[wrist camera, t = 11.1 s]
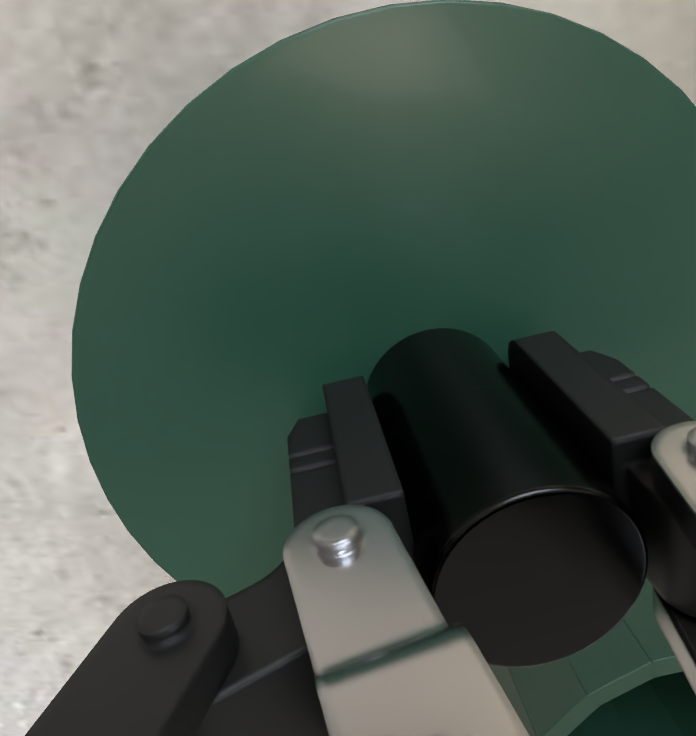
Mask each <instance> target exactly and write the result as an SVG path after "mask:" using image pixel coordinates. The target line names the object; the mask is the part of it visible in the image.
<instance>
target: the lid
mask: <svg viewBox="0 0 696 736" xmlns="http://www.w3.org/2000/svg"><path fill="white" fill-rule="evenodd" d="M549 331H555V332H556V333H558V334H559V335H560V336H561V337H562V338H563V339H565V340H566V341H567V342H568V343H569V344H570V345H572V346H573V347H574V348H575V349H576V350H577V351H579V352H585V351H589V350H591V351H594V352H597V353H600V354H603V355H606V356H609V357H612V358H615V359H618V360H619V361H620V362H621V363H623V364H624V365H625V366H626V367H628V368H629V369H630V370H631V371H633V372H634V373H635V376H639V377H640V378H642V379H643V380H644V381H645V382H647V383H648V384H649V386H650V388H654V389H656V390H657V391H658V392H659V393H661V394H662V395H663V396H664V397H666V398H667V399H668V400H669V401H671V402H672V403H673V404H675V405H676V406H677V407H678V408H680V409H681V410H682V411H683V412H685V413H686V414H687V415H688V416H690V417H691V418H692V419H694V420H695V421H696V106H695V105H694V104H693V103H692V102H691V101H690V99H689V98H688V97H687V96H686V95H685V94H684V92H683V91H682V90H681V89H680V88H679V87H678V86H676V85H675V84H674V83H673V82H672V81H671V80H669V79H668V78H667V77H666V76H665V75H663V74H662V73H661V72H660V71H659V70H657V69H656V68H655V67H654V66H653V65H652V64H650V63H649V62H648V61H647V60H646V59H644V58H643V57H641V56H639V55H638V54H636V53H634V52H633V51H631V50H629V49H628V48H626V47H624V46H623V45H621V44H619V43H618V42H616V41H614V40H613V39H611V38H609V37H608V36H606V35H604V34H603V33H601V32H598V31H595V30H593V29H590V28H588V27H585V26H583V25H580V24H578V23H575V22H573V21H570V20H568V19H565V18H562V17H560V16H557V15H555V14H551V13H547V12H542V11H538V10H533V9H529V8H524V7H519V6H515V5H510V4H506V3H501V2H484V1H468V0H432V1H421V2H411V3H400V4H390V5H386V6H381V7H377V8H373V9H369V10H365V11H361V12H357V13H353V14H349V15H345V16H341V17H337V18H333V19H331V20H328V21H326V22H324V23H321V24H319V25H316V26H314V27H311V28H309V29H306V30H304V31H302V32H299V33H297V34H294V35H292V36H289V37H287V38H284V39H282V40H280V41H278V42H276V43H275V44H273V45H271V46H270V47H268V48H266V49H265V50H263V51H261V52H260V53H258V54H256V55H254V56H253V57H251V58H249V59H248V60H246V61H244V62H243V63H241V64H239V65H237V66H236V67H234V68H232V69H231V70H230V71H228V72H227V73H226V74H225V75H223V76H222V77H221V78H220V79H218V80H217V81H216V82H215V83H213V84H212V85H211V86H210V87H208V88H207V89H206V90H205V91H203V92H202V93H201V94H200V95H198V96H197V97H196V98H195V99H193V100H192V101H191V102H190V103H188V104H187V105H186V106H185V107H184V108H183V109H182V110H181V112H180V113H179V114H178V115H177V116H176V117H175V118H174V119H173V120H172V121H171V122H170V123H169V124H168V126H167V127H166V128H165V129H164V130H163V131H162V132H161V133H160V134H159V135H158V136H157V137H156V138H155V140H154V141H153V142H152V143H151V144H150V145H149V146H148V148H147V149H146V150H145V152H144V153H143V155H142V156H141V158H140V159H139V161H138V162H137V163H136V165H135V166H134V168H133V169H132V171H131V172H130V174H129V175H128V176H127V178H126V179H125V181H124V182H123V184H122V185H121V187H120V188H119V189H118V191H117V193H116V195H115V197H114V199H113V201H112V203H111V205H110V207H109V210H108V212H107V214H106V216H105V218H104V220H103V222H102V224H101V226H100V228H99V230H98V232H97V234H96V236H95V239H94V242H93V245H92V248H91V251H90V254H89V257H88V260H87V263H86V267H85V270H84V273H83V276H82V279H81V282H80V287H79V293H78V299H77V305H76V311H75V317H74V323H73V329H72V383H73V390H74V397H75V404H76V411H77V419H78V423H79V426H80V430H81V433H82V436H83V440H84V443H85V447H86V450H87V453H88V457H89V460H90V463H91V465H92V467H93V469H94V471H95V473H96V476H97V478H98V480H99V482H100V484H101V486H102V489H103V491H104V493H105V495H106V497H107V499H108V501H109V502H110V504H111V505H112V507H113V508H114V510H115V511H116V513H117V515H118V516H119V518H120V519H121V521H122V522H123V524H124V525H125V527H126V528H127V530H128V531H129V533H130V534H131V535H132V536H133V537H134V539H135V540H136V541H137V542H138V543H139V544H140V545H141V547H142V548H143V549H144V550H145V551H146V552H147V553H148V555H149V556H150V557H151V558H152V559H153V560H154V561H155V562H156V563H157V564H158V565H159V566H160V567H161V568H162V569H164V570H165V571H166V572H167V573H168V574H169V575H170V576H172V577H173V578H174V579H175V580H176V581H184V580H199V581H204V582H207V583H210V584H212V585H214V586H215V587H217V588H218V589H219V590H220V591H221V592H222V593H223V595H224V597H225V598H227V597H229V596H231V595H233V594H235V593H237V592H239V591H241V590H243V589H245V588H247V587H249V586H251V585H253V584H254V583H256V582H258V581H260V580H261V579H263V578H264V577H266V576H267V575H268V574H270V573H271V572H272V571H273V570H275V569H276V568H277V567H278V566H279V565H280V564H281V563H282V561H283V560H284V559H283V546H284V544H285V541H286V539H287V537H288V535H289V534H290V533H291V531H292V530H293V529H294V518H293V506H292V493H291V480H290V467H289V455H288V442H287V437H288V436H289V434H290V432H291V431H292V429H293V427H294V425H295V424H296V422H297V420H298V419H302V418H306V417H311V416H315V415H319V414H323V413H327V407H326V402H325V397H324V393H323V388H322V385H324V384H328V383H332V382H337V381H341V380H345V379H349V378H353V377H358V376H362V375H363V377H364V380H365V383H366V386H367V388H368V391H369V394H370V397H371V400H372V403H373V406H374V408H375V411H376V414H377V417H378V420H379V423H380V426H381V429H382V431H383V434H384V437H385V440H386V443H387V446H388V449H389V451H390V454H391V457H392V460H393V463H394V466H395V469H396V472H397V474H398V477H399V480H400V483H401V486H402V489H403V492H404V497H405V502H406V507H407V512H408V517H409V522H410V527H411V531H412V536H413V541H414V563H415V567H416V568H417V570H418V572H419V574H420V576H421V577H422V579H423V581H424V583H425V585H426V587H427V588H428V590H429V592H430V594H431V596H432V597H433V599H434V601H435V603H436V605H437V607H438V608H439V610H440V612H441V614H442V616H443V617H444V619H445V621H446V623H447V624H448V626H451V625H454V624H456V623H460V624H462V625H463V626H464V627H465V628H466V629H467V631H468V632H469V633H470V635H471V636H472V638H473V640H474V641H475V643H476V645H477V646H478V648H479V650H480V651H481V653H482V655H483V657H484V658H485V660H486V662H487V663H488V665H492V666H499V667H511V668H520V667H532V666H538V665H544V664H548V663H551V662H555V661H558V660H561V659H564V658H567V657H569V656H572V655H574V654H576V653H578V652H580V651H582V650H584V649H586V648H587V647H589V646H591V645H593V644H594V643H596V642H597V641H598V640H600V639H601V638H603V637H604V636H605V635H607V634H608V633H609V632H610V631H611V630H612V629H613V628H615V627H616V626H617V625H618V624H619V623H620V621H621V620H622V619H623V618H624V617H625V616H626V615H627V613H628V612H629V611H630V609H631V608H632V607H633V605H634V603H635V602H636V600H637V598H638V596H639V594H640V592H641V590H642V587H643V585H644V582H645V578H646V575H647V569H648V547H647V542H646V538H645V534H644V532H643V529H642V527H641V525H640V523H639V521H638V520H637V518H636V517H635V515H634V514H633V513H632V512H631V511H630V509H629V508H628V507H627V506H626V505H625V503H624V502H623V501H622V500H621V499H620V498H619V496H618V495H617V494H616V493H615V492H614V491H613V489H612V488H611V487H610V486H609V485H608V484H607V482H606V481H605V480H604V479H603V478H602V477H601V475H600V474H599V473H598V472H597V471H596V470H595V468H594V467H593V466H592V465H591V464H590V463H589V461H588V460H587V459H586V458H585V457H584V456H583V454H582V453H581V452H580V451H579V450H578V449H577V447H576V446H575V445H574V444H573V443H572V442H571V440H570V439H569V438H568V437H567V436H566V434H565V433H564V432H563V431H562V430H561V429H560V427H559V426H558V425H557V424H556V423H555V422H554V420H553V419H552V418H551V417H550V416H549V415H548V413H547V412H546V411H545V410H544V409H543V408H542V406H541V405H540V404H539V403H538V402H537V401H536V399H535V398H534V397H533V396H532V395H531V394H530V392H529V391H528V390H527V389H526V388H525V387H524V385H523V384H522V383H521V382H520V381H519V380H518V378H517V377H516V376H515V375H514V374H513V372H512V371H511V370H510V368H509V359H508V345H509V342H510V341H511V340H515V339H519V338H523V337H528V336H532V335H536V334H540V333H544V332H549Z"/></svg>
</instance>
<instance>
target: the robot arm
mask: <svg viewBox="0 0 696 736" xmlns="http://www.w3.org/2000/svg"><path fill="white" fill-rule="evenodd" d="M508 359H509V368H510V370H511V371H512V372H513V374H514V375H515V376H516V377H517V378H518V380H519V381H520V382H521V383H522V384H523V385H524V387H525V388H526V389H527V390H528V391H529V392H530V394H531V395H532V396H533V397H534V398H535V399H536V401H537V402H538V403H539V404H540V405H541V406H542V408H543V409H544V410H545V411H546V412H547V413H548V415H549V416H550V417H551V418H552V419H553V420H554V422H555V423H556V424H557V425H558V426H559V427H560V429H561V430H562V431H563V432H564V433H565V434H566V436H567V437H568V438H569V439H570V440H571V442H572V443H573V444H574V445H575V446H576V447H577V449H578V450H579V451H580V452H581V453H582V454H583V456H584V457H585V458H586V459H587V460H588V461H589V463H590V464H591V465H592V466H593V467H594V468H595V470H596V471H597V472H598V473H599V474H600V475H601V477H602V478H603V479H604V480H605V481H606V482H607V484H608V485H609V486H610V487H611V488H612V489H613V491H614V492H615V493H616V494H617V495H618V496H619V498H620V499H621V500H622V501H623V502H624V503H625V505H626V506H627V507H628V508H629V509H630V511H631V512H632V513H633V514H634V515H635V517H636V518H637V520H638V521H639V523H640V525H641V527H642V529H643V532H644V534H645V538H646V542H647V547H648V569H647V575H646V578H647V579H648V580H649V582H650V583H651V584H652V597H653V613H654V616H655V618H656V620H657V622H658V624H659V626H660V628H661V630H662V632H663V634H664V636H665V638H666V639H667V641H668V643H669V645H670V647H671V649H672V651H673V653H674V655H675V657H676V658H677V660H678V662H679V664H680V666H681V668H682V670H683V672H684V674H685V676H686V677H687V679H688V681H689V683H690V685H691V687H692V689H693V691H694V693H695V695H696V421H695V420H694V419H692V418H691V417H690V416H688V415H687V414H686V413H685V412H683V411H682V410H681V409H680V408H678V407H677V406H676V405H675V404H673V403H672V402H671V401H669V400H668V399H667V398H666V397H664V396H663V395H662V394H661V393H659V392H658V391H657V390H656V389H654V388H650V386H649V384H648V383H647V382H645V381H644V380H643V379H642V378H640V377H639V376H635V373H634V372H633V371H631V370H630V369H629V368H628V367H626V366H625V365H624V364H623V363H621V362H620V361H619V360H618V359H615V358H612V357H609V356H606V355H603V354H600V353H597V352H594V351H591V350H589V351H585V352H579V351H577V350H576V349H575V348H574V347H573V346H572V345H570V344H569V343H568V342H567V341H566V340H565V339H563V338H562V337H561V336H560V335H559V334H558V333H556V332H555V331H549V332H544V333H540V334H536V335H532V336H528V337H523V338H519V339H515V340H511V341H510V342H509V345H508ZM322 388H323V393H324V397H325V402H326V407H327V413H323V414H319V415H315V416H311V417H306V418H302V419H298V420H297V422H296V424H295V425H294V427H293V429H292V431H291V432H290V434H289V436H288V437H287V442H288V455H289V467H290V480H291V493H292V506H293V518H294V529H293V530H292V531H291V533H290V534H289V535H288V537H287V539H286V541H285V544H284V546H283V559H284V560H283V561H282V563H281V564H280V565H279V566H278V567H277V568H276V569H275V570H273V571H272V572H271V573H270V574H268V575H267V576H266V577H264V578H263V579H261V580H260V581H258V582H256V583H254V584H253V585H251V586H249V587H247V588H245V589H243V590H241V591H239V592H237V593H235V594H233V595H231V596H229V597H227V598H225V597H224V595H223V593H222V592H221V591H220V590H219V589H218V588H217V587H215V586H214V585H212V584H210V583H207V582H204V581H199V580H184V581H177V582H173V583H169V584H166V585H163V586H160V587H158V588H156V589H154V590H151V591H149V592H148V593H146V594H144V595H143V596H141V597H139V598H138V599H137V600H135V601H134V602H133V603H131V604H130V605H129V606H128V607H127V608H126V609H125V610H123V612H122V613H121V614H120V615H119V616H118V617H117V618H116V620H115V621H114V622H113V623H112V625H111V626H110V627H109V629H108V630H107V631H106V632H105V634H104V635H103V636H102V637H101V639H100V640H99V641H98V643H97V644H96V645H95V646H94V648H93V649H92V650H91V652H90V653H89V654H88V655H87V657H86V658H85V659H84V661H83V662H82V663H81V664H80V666H79V667H78V668H77V669H76V671H75V672H74V673H73V675H72V676H71V677H70V678H69V680H68V681H67V682H66V684H65V685H64V686H63V687H62V689H61V690H60V691H59V693H58V694H57V695H56V696H55V698H54V699H53V700H52V701H51V703H50V704H49V705H48V707H47V708H46V709H45V710H44V712H43V713H42V714H41V716H40V717H39V718H38V719H37V721H36V722H35V723H34V725H33V726H32V727H31V728H30V730H29V731H28V732H27V733H26V735H25V736H529V734H528V732H527V730H526V729H525V727H524V725H523V724H522V722H521V720H520V718H519V717H518V715H517V713H516V712H515V710H514V708H513V706H512V705H511V703H510V701H509V700H508V698H507V696H506V694H505V693H504V691H503V689H502V687H501V686H500V684H499V682H498V681H497V679H496V677H495V675H494V674H493V672H492V670H491V669H490V667H489V665H488V663H487V662H486V660H485V658H484V657H483V655H482V653H481V651H480V650H479V648H478V646H477V645H476V643H475V641H474V640H473V638H472V636H471V635H470V633H469V632H468V631H467V629H466V628H465V627H464V626H463V625H462V624H460V623H456V624H454V625H451V626H448V624H447V623H446V621H445V619H444V617H443V616H442V614H441V612H440V610H439V608H438V607H437V605H436V603H435V601H434V599H433V597H432V596H431V594H430V592H429V590H428V588H427V587H426V585H425V583H424V581H423V579H422V577H421V576H420V574H419V572H418V570H417V568H416V567H415V563H414V541H413V536H412V531H411V527H410V522H409V517H408V512H407V507H406V502H405V497H404V492H403V489H402V486H401V483H400V480H399V477H398V474H397V472H396V469H395V466H394V463H393V460H392V457H391V454H390V451H389V449H388V446H387V443H386V440H385V437H384V434H383V431H382V429H381V426H380V423H379V420H378V417H377V414H376V411H375V408H374V406H373V403H372V400H371V397H370V394H369V391H368V388H367V386H366V383H365V380H364V377H363V375H362V376H358V377H353V378H349V379H345V380H341V381H337V382H332V383H328V384H324V385H322Z"/></svg>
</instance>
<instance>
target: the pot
mask: <svg viewBox="0 0 696 736" xmlns="http://www.w3.org/2000/svg"><path fill="white" fill-rule="evenodd" d="M489 667H490V669H491V670H492V672H493V674H494V675H495V677H496V679H497V681H498V682H499V684H500V686H501V687H502V689H503V691H504V693H505V694H506V696H507V698H508V700H509V701H510V703H511V705H512V706H513V708H514V710H515V712H516V713H517V715H518V717H519V718H520V720H521V722H522V724H523V725H524V727H525V729H526V730H527V732H528V734H529V736H696V695H695V693H694V691H693V689H692V687H691V685H690V683H689V681H688V679H687V677H686V676H685V674H684V672H683V670H682V668H681V666H680V664H679V662H678V660H677V658H676V657H675V655H674V653H673V651H672V649H671V647H670V645H669V643H668V641H667V639H666V638H665V636H664V634H663V632H662V630H661V628H660V626H659V624H658V622H657V620H656V618H655V616H654V613H653V597H652V584H651V583H650V582H649V580H648V579H647V578H645V582H644V585H643V587H642V590H641V592H640V594H639V596H638V598H637V600H636V602H635V603H634V605H633V607H632V608H631V609H630V611H629V612H628V613H627V615H626V616H625V617H624V618H623V619H622V620H621V621H620V623H619V624H618V625H617V626H616V627H615V628H613V629H612V630H611V631H610V632H609V633H608V634H607V635H605V636H604V637H603V638H601V639H600V640H598V641H597V642H596V643H594V644H593V645H591V646H589V647H587V648H586V649H584V650H582V651H580V652H578V653H576V654H574V655H572V656H569V657H567V658H564V659H561V660H558V661H555V662H551V663H548V664H544V665H538V666H532V667H520V668H511V667H499V666H492V665H489Z"/></svg>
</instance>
